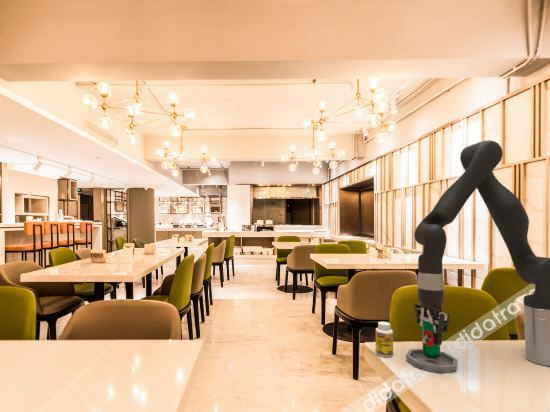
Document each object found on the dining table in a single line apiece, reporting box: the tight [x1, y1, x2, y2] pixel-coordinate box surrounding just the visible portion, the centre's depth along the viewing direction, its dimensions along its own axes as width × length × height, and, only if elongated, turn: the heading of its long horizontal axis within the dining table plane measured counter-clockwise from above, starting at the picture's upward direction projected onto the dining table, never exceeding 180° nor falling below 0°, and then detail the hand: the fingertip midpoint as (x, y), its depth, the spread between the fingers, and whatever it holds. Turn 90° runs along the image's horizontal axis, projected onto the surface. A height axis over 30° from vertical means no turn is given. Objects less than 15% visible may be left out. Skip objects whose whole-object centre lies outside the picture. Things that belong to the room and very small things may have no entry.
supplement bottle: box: [375, 321, 394, 358], centre depth 110 cm, size 6×6×10 cm
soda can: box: [421, 316, 441, 359], centre depth 103 cm, size 5×5×12 cm
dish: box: [405, 348, 459, 374], centre depth 103 cm, size 14×14×2 cm
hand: (431, 341), depth 103 cm, fingers closed on soda can, 5 cm apart
